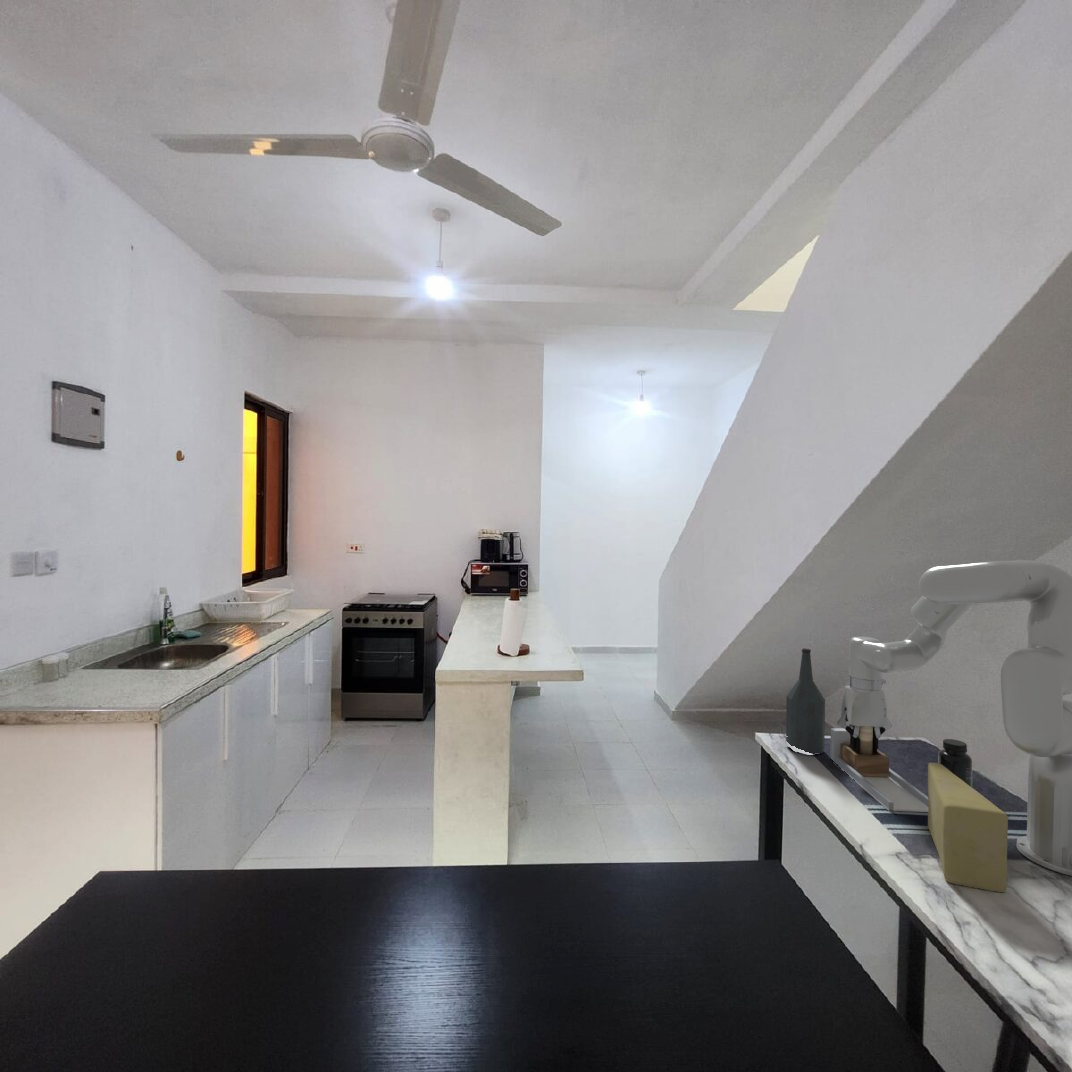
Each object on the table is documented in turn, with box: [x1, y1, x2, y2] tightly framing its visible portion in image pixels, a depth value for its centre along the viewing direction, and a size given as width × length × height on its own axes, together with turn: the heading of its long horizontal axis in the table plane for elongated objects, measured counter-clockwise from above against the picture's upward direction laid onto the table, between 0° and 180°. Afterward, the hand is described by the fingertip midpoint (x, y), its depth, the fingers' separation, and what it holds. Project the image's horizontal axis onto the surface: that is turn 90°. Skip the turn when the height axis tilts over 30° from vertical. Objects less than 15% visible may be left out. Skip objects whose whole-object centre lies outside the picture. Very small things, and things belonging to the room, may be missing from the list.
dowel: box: [856, 726, 873, 755], centre depth 147 cm, size 4×4×12 cm
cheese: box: [927, 762, 1009, 893], centre depth 109 cm, size 22×10×15 cm, turn 161°
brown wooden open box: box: [840, 743, 890, 777], centre depth 147 cm, size 9×8×5 cm
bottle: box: [785, 648, 826, 754], centre depth 161 cm, size 10×10×30 cm
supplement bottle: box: [937, 738, 973, 788], centre depth 137 cm, size 7×7×12 cm
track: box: [829, 727, 928, 813], centre depth 140 cm, size 28×11×9 cm, turn 177°
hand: (864, 750), depth 147 cm, fingers closed on dowel, 3 cm apart
